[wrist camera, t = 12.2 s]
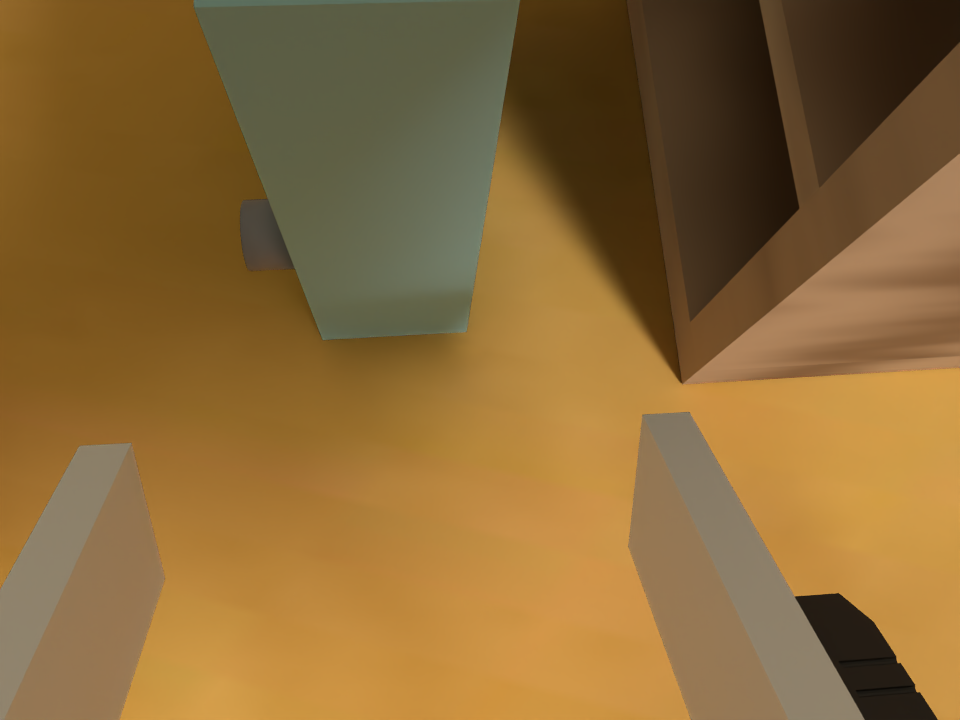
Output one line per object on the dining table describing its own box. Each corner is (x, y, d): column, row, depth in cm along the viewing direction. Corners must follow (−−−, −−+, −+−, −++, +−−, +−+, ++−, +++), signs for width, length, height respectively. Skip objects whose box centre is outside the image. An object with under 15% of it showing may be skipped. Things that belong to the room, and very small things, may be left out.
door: (442, 31, 23) (462, -534, 12) (466, 331, 21) (520, -1, 9) (275, 36, 23) (123, -544, 11) (280, 342, 20) (95, 9, 9)
